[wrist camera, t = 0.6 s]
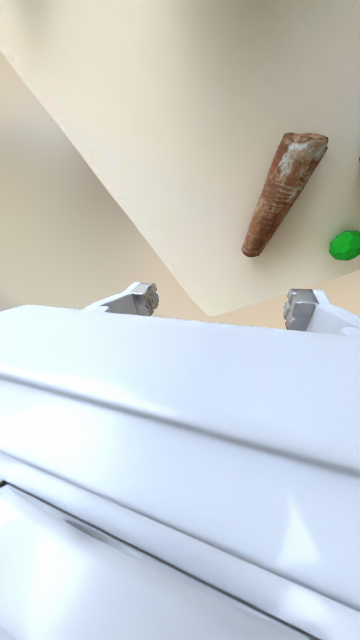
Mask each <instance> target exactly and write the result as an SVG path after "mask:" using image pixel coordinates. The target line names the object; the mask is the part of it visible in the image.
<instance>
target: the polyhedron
mask: <svg viewBox="0 0 360 640" xmlns="http://www.w3.org/2000/svg"><path fill="white" fill-rule="evenodd" d="M329 253H330V254H331V255H332V256H333V257H334V258H335V259H337V260H350V259H353V258H355V257H357V256H358V255H359V254H360V232H359V231H346V232H343V233H341V234H339V235H338V236H337V237H336V238H335V239H334V240H333V241H332V242H331V244H330V250H329Z"/></svg>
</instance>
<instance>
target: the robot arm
mask: <svg viewBox="0 0 360 640" xmlns="http://www.w3.org/2000/svg"><path fill="white" fill-rule="evenodd" d="M156 290H157V288H156V285H155V284H154V283H133V284H132V285H131V286H129V287H128V288H127V289H126V290H125V291H124V292H123V293H119V294H117V295H114V296H111V297H108V298H105V299H103V300H100V301H97V302H95V303H92V304H90V305H88V306H87V307H86V308H85V309H84V310H77V309H68V308H57V307H46V306H38V305H25V306H20V307H16V308H12V309H9V310H5V311H2V312H0V640H360V317H359V316H357V315H355V314H353V313H351V312H348V311H347V310H345V309H342V308H340V307H338V306H336V305H332V304H331V302H330V300H329V299H328V297H327V295H326V294H325V292H324V291H323V290H312V289H290V290H289V292H288V295H287V297H288V301H287V302H286V303H285V306H284V319H286V323H285V324H286V328H287V330H285V329H273V328H264V327H254V326H243V325H232V324H222V323H212V322H202V321H191V320H181V319H171V318H161V317H151V315H152V313H153V310H154V309H155V308H157V306H158V302H159V298H158V295H157V294H156V293H155V292H156Z"/></svg>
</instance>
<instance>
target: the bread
mask: <svg viewBox="0 0 360 640" xmlns="http://www.w3.org/2000/svg"><path fill="white" fill-rule="evenodd" d="M327 143H328V137H326V136H323V135H319V134H311V133H307V134H295V133H286V134H284V137H283V139H282V141H281V143H280V145H279V147H278V149H277V151H276V154H275V157H274V159H273V162H272V165H271V168H270V170H269V173H268V176H267V179H266V181H265V184H264V188H263V190H262V193H261V196H260V198H259V201H258V204H257V207H256V209H255V212H254V215H253V218H252V221H251V223H250V226H249V229H248V232H247V235H246V238H245V241H244V244H243V247H242V251H243V253H244V255H246V256H248V257H256V256H259V255H260V253H261V252H262V250H263V249H264V247H265V246H266V244H267V243H268V241H269V240H270V239H271V237H272V235H273V234H274V232H275V231H276V229H277V228H278V226H279V225H280V223H281V222H282V220H283V218H284V217H285V215H286V214H287V212H288V211H289V209H290V208H291V206H292V205H293V203H294V201H295V200H296V198H297V197H298V196H299V194H300V193H301V191H302V189H303V188H304V186H305V184H306V183H307V181H308V179H309V178H310V176H311V175H312V173H313V171H314V170H315V168H316V167H317V165H318V164H319V162H320V160H321V159H322V157H323V155H324V154H325V152H326V150H327V148H328V147H326V146H327Z"/></svg>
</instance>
